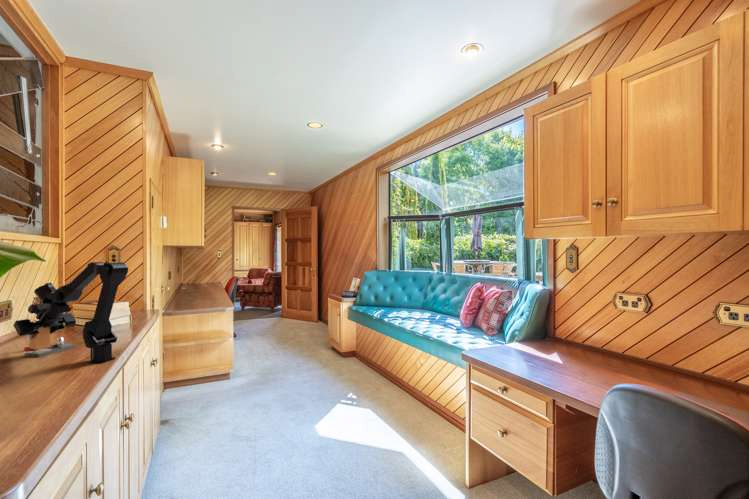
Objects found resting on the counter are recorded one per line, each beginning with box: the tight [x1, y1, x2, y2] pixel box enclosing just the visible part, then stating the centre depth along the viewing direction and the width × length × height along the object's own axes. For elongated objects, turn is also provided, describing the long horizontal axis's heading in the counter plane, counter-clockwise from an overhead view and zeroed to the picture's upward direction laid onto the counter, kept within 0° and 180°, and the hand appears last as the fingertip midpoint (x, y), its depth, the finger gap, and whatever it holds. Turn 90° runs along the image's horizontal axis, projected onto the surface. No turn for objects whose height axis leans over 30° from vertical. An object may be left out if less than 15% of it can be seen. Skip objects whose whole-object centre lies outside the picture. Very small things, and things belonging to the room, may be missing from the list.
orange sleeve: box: [29, 327, 51, 349], centre depth 145 cm, size 5×5×10 cm
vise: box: [24, 336, 75, 358], centre depth 149 cm, size 7×14×5 cm, turn 170°
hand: (38, 336), depth 146 cm, fingers closed on orange sleeve, 5 cm apart
